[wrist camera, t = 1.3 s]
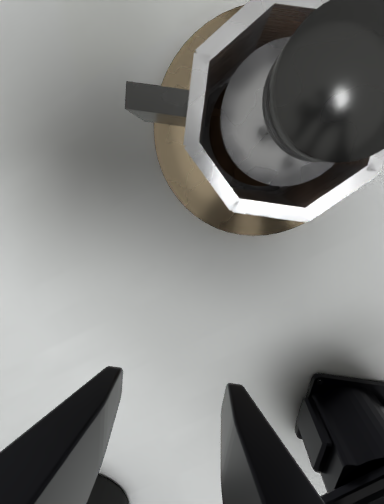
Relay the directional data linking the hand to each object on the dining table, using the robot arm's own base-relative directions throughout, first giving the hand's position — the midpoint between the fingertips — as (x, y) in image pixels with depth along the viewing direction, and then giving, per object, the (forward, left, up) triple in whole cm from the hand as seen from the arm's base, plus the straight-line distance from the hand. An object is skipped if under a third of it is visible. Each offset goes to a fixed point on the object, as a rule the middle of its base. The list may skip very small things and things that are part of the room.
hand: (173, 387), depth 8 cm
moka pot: (-3, -8, -13) cm, 16 cm away
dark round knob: (-3, -8, -7) cm, 11 cm away
